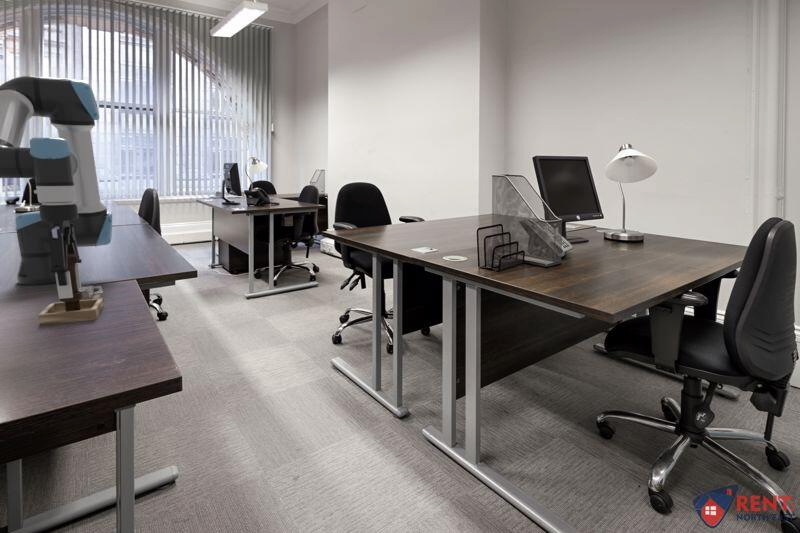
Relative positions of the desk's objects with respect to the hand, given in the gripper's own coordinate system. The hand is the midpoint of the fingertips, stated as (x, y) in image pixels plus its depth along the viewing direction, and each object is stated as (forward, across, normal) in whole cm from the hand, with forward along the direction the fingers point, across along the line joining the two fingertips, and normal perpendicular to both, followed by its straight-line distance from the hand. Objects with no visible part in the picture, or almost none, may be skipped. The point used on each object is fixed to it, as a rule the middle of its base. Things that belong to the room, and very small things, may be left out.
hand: (70, 293), depth 115 cm
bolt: (+6, 0, 0) cm, 6 cm away
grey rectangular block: (+6, -14, 0) cm, 15 cm away
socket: (+6, -6, 0) cm, 8 cm away
